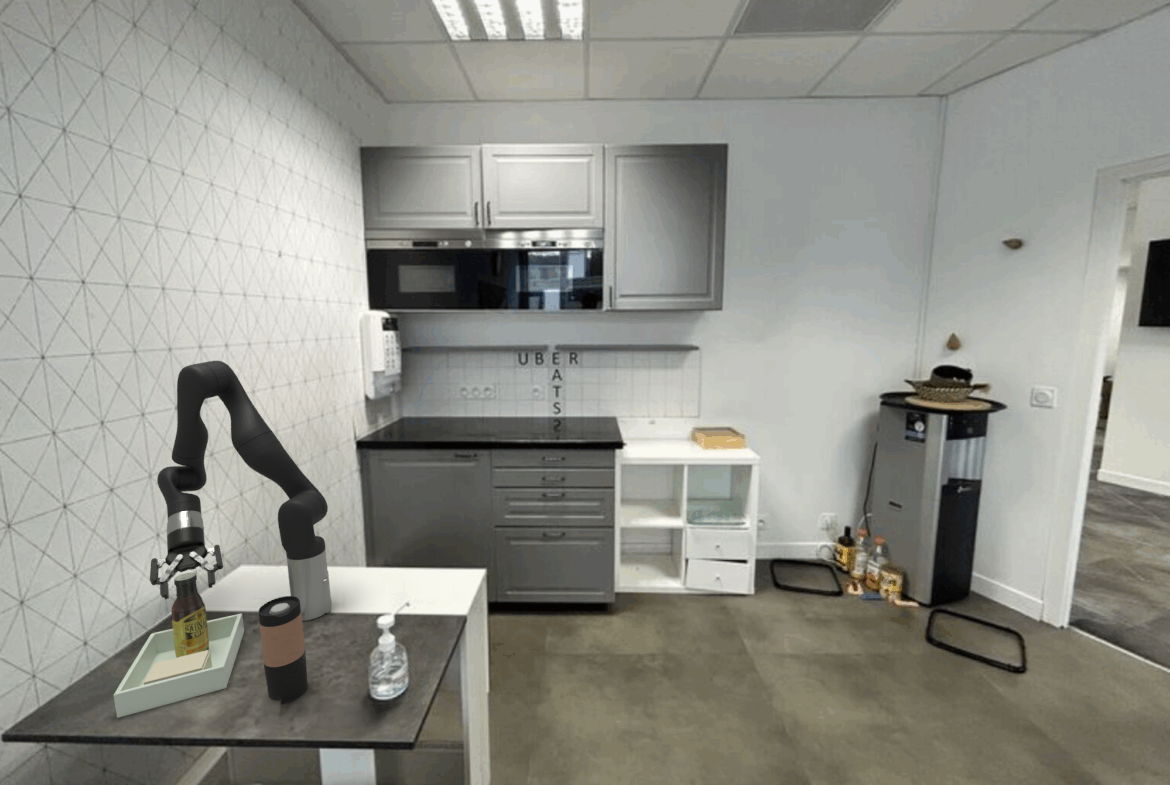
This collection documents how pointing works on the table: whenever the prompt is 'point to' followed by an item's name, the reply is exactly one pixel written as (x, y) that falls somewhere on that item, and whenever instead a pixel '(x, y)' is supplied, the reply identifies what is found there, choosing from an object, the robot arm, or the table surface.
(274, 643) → the travel mug
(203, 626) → the sauce bottle
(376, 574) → the table surface
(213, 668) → the tote
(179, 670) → the beige lidded box
